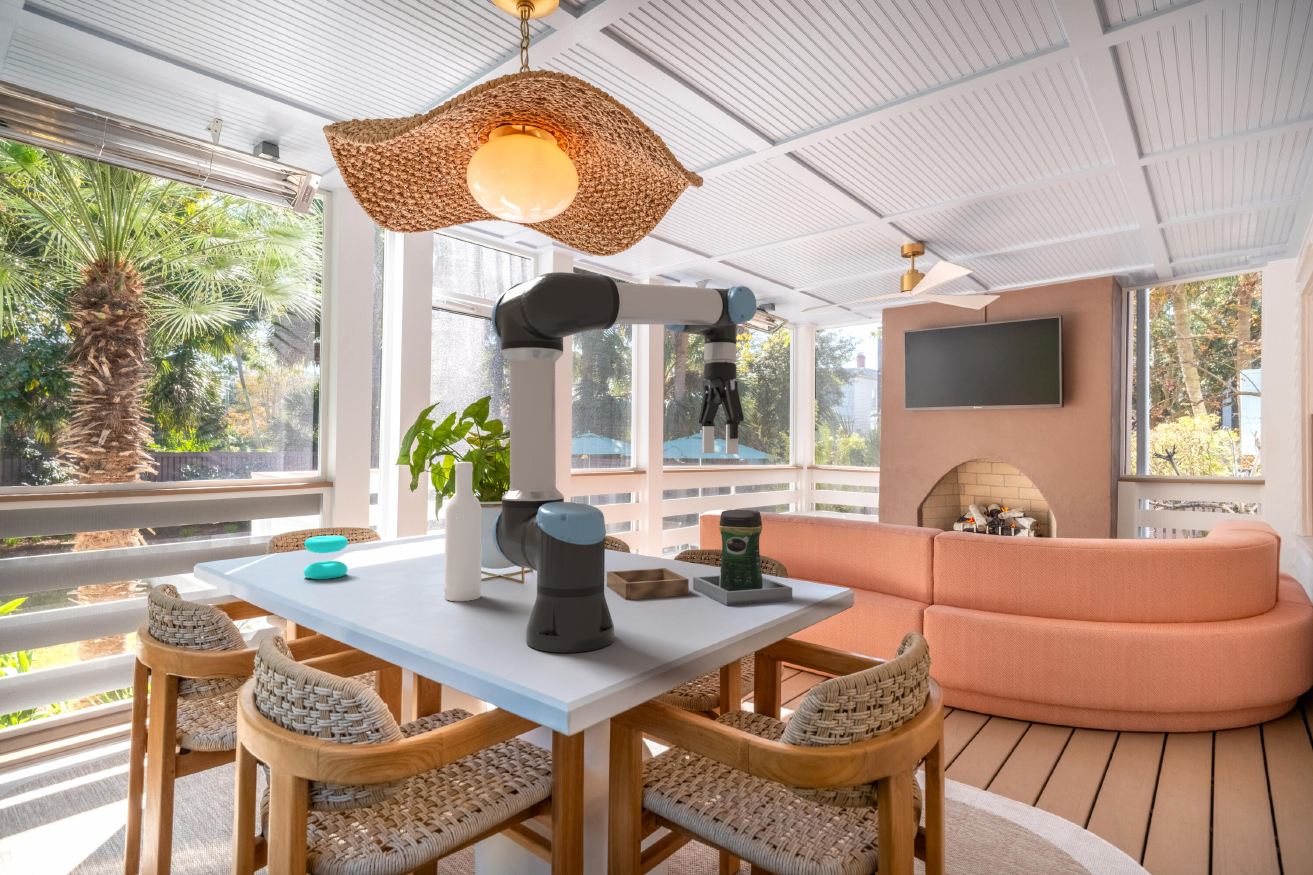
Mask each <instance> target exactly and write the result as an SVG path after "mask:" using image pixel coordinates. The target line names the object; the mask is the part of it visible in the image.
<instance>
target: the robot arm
mask: <svg viewBox="0 0 1313 875" xmlns="http://www.w3.org/2000/svg"><path fill="white" fill-rule="evenodd" d="M492 306H493V307H492V310H491V325H492V328H493V331H494V333H495V335H497V337H498V338H499V340H500V351H501V352H500V353H501V354H502V356H504V357H505V358H506V359H507V361H508V363H509V489H508V490H507V491H506V492H505V494H503V495H502V496H501V511H500V512H499V514H498V516H496V517H495V520H494V522H493V525H492V530H491V531H492V535H491V536H492V541H493V542H492V543H493V545H494V546H495V549H496V551H497V552H498V554H499V555H500V556H501V557H502V558H503V559H504V560H506V561H508V562H510V563H511V564H512V565H515V566H516V567H521V568H524V569H529V570H532V571H535V572H536V573H537V574H536V583H537V584H536V599H535V601H534V604H533V607H532V611H531V613H530V617H529V619H528V622H527V626H526V632H525V635H526V636H525V640H526V641H525V643H526V644H527V645H528V646H529V647H531V648H533V649H535V650H540V651H543V652H552V653H582V652H591V651H595V650H598V649H601V648H604V647H605V648H606V647H607V646H610V645H611V644H612V643H613V642H614V640H615V625H614V623H613V619H612V615H611V611H610V609H609V605H608V602H607V598H606V596H605V576H606V575H605V573H606V572H605V570H606V568H605V564H606V563H605V559H606V558H605V557H606V556H605V554H606V553H605V552H606V550H605V549H606V548H605V547H606V535H607V530H606V525H605V522H606V521H605V516H604V513H603V512H602V510H600V508H598V507H596V506H593V505H590V504H585V503H577V502H572V501H565V496H564V494H563V493H562V492H561V491H559V489H558V488H557V485H556V484H557V476H556V475H557V474H556V472H557V470H556V468H557V467H556V465H557V464H556V461H557V460H556V455H557V453H556V451H557V450H556V447H557V444H556V442H557V441H556V437H557V436H556V435H557V434H556V431H557V430H556V363H557V361H558V360H559V359H560V358H561V357H562V356H563V354H564V338H565V337H569V336H573V335H576V334H580V333H585V332H590V331H596V330H602V331H603V330H606V331H607V330H610V329H611V328H613V327H614V326H615V325H664V326H665V328H666V330H669V331H673V332H676V333H680V334H681V333H683V334H692V335H698V336H704V338H703V341H704V343H703V344H704V345H703V360H704V362H705V364H704V366H703V367H704V368H703V369H704V370H703V378H704V379H705V380H706V381H710V383H709V385H704V387H703V397H702V402H701V407H700V413H699V418H698V424H700V425H701V426H702V454H714V453H715V426H716V425H715V423H714V421H715V418H716V415H717V413H718V409H719V407H720V406H721V407H722V410H723V412H724V415H725V416H724V417H725V419H726V421H725V423H724V424H725V454H726V455H728V454H729V455H738V454H739V425H740V424H741V422H744V420H745V419H744V413H743V408H742V404H741V400H740V399H741V398H740V394H739V389H738V388H739V386H738V381H737V380H736V379H737V364H736V363H735V362H736V361H737V354H738V349H737V333H738V332H737V330H738V329H737V327H738V325H741V324H744V323H747V322H749V321H751V320H752V319H753V318H754V316H755V315H756V313H757V307H758V306H757V298H756V296H755V293H754V292H753V291H752V289H750V287H747V286H744V285H739V286H731V287H730V288H712V287H711V288H710V287H698V286H697V287H696V286H695V287H694V286H693V287H692V286H681V285H680V286H679V285H678V286H677V285H662V284H648V283H631V282H619V281H618V282H616V280H615V279H614V278H613V277H611V276H608V275H599V274H597V275H596V274H590V273H589V274H588V273H587V274H586V273H579V272H578V273H576V272H575V273H574V272H564V271H563V272H561V271H559V272H548V273H547V272H546V273H543V274H541V275H539V276H537V277H534V278H532V279H529V280H526V281H524V282H520V283H516V284H514V285H512V286H510V287H509V288H508V289H506V290H505V291H503V292H502V293H501V294H500V295H499V296H498V297H497V298H496V300H495V302H494V304H493V305H492Z"/></svg>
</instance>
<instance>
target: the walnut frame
mask: <svg viewBox="0 0 1313 875" xmlns="http://www.w3.org/2000/svg"><path fill="white" fill-rule="evenodd" d="M689 584H690V582H689V578H687V577H684V576H683V575H680V574H678V573H676V572H675V571H672V570H670V569H668V568H665V567H662V568H660V567H659V568H648V569H647V568H646V569H645V568H644V569H643V568H641V569H629V570H628V569H626V570H612V571H611V570H610V571H606V587H608V589H610V590H611V591H613V592H614V593H615V594H617V595H619V596H620V597H621V598H623V599H624V600H638V599H650V598H661V597H662V598H664V597H666V598H667V597H675V596H676V597H677V596H688V595H689Z"/></svg>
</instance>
